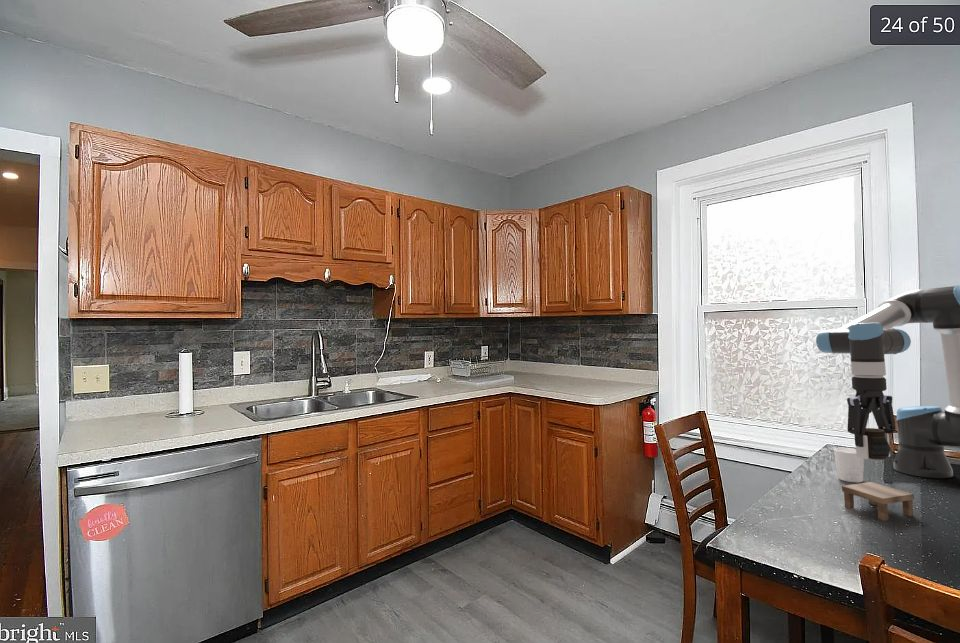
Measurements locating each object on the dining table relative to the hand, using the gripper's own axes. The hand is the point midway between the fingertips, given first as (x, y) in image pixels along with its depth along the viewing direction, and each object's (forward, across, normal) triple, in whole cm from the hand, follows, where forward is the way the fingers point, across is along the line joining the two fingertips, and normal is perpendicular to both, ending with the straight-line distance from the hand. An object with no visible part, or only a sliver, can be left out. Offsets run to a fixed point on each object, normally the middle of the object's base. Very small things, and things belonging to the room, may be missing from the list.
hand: (873, 456), depth 130 cm
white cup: (+15, -20, -23) cm, 34 cm away
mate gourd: (0, 0, 0) cm, 1 cm away
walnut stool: (+15, 0, 0) cm, 15 cm away
